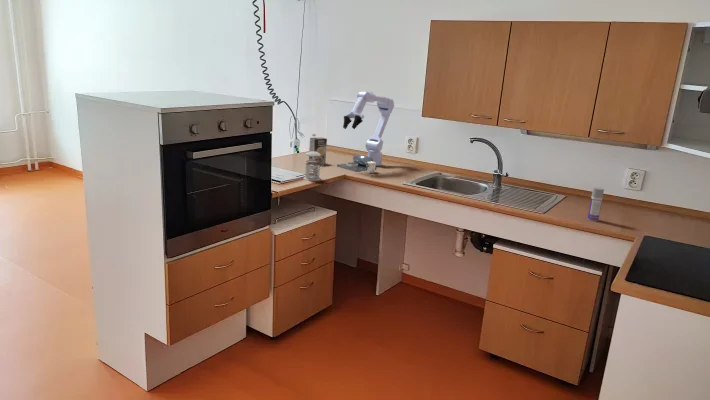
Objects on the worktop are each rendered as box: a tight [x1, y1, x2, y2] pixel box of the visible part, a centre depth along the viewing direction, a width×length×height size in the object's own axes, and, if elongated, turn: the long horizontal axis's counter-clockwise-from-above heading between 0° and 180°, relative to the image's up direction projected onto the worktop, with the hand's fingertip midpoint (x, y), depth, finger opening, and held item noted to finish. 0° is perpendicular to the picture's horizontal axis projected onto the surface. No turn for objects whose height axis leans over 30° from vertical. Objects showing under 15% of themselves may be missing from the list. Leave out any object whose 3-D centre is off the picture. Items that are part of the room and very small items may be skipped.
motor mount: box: [336, 153, 377, 172], centre depth 326 cm, size 18×17×7 cm
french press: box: [303, 133, 324, 182], centre depth 286 cm, size 10×12×25 cm
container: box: [587, 186, 605, 222], centre depth 241 cm, size 5×5×15 cm
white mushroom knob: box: [366, 162, 376, 174], centre depth 315 cm, size 7×6×6 cm
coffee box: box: [308, 137, 328, 165], centre depth 331 cm, size 9×6×16 cm
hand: (348, 128), depth 310 cm, fingers open, 7 cm apart
